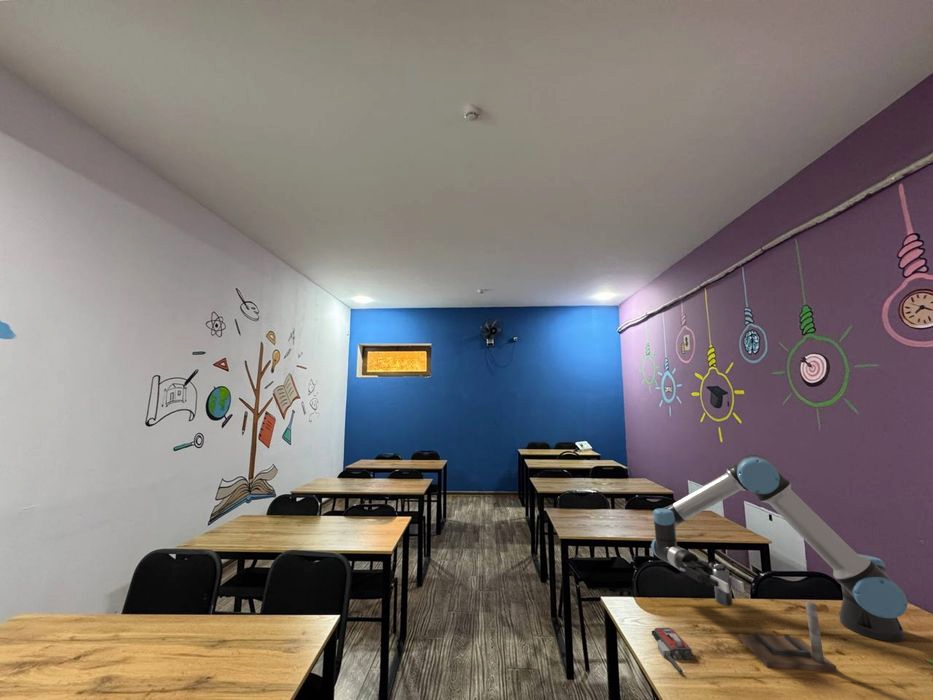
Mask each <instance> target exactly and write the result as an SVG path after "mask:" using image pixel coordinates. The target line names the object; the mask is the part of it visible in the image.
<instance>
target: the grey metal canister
mask: <svg viewBox="0 0 933 700" xmlns="http://www.w3.org/2000/svg"><path fill="white" fill-rule="evenodd" d="M714 564H715V565H714V566H713V567H712V571H713V576H715V577H717V578H719V579H720V580H722V581H724V582H726V583H728V586H729V593H726V592H724V591H722V590H721V589H719V588H717V587H715V586H713V587H714V596H715V597H714V598H715V602H716V603H717V604H719V605H721V606H726V607H730V606H733V597H732V589H731V588H732V586H730V577H729V572H730V571H729V569H728V568H727V566H726V565H725V563H719V564H718V563H714Z"/></svg>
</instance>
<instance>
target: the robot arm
mask: <svg viewBox="0 0 933 700" xmlns="http://www.w3.org/2000/svg"><path fill="white" fill-rule="evenodd" d="M740 491H745V492H746V491H750V492H751V493H752V494H753V495H754V496H755V497H756V499H758V500H759V501H760V502H761V503H764V504H769V505H770V507H772V508H773V510H775V511H776V512H777V513H778V515H780V516H781V517H782V518H783V519H784V520H785V522H786V523H787V524H788V525H789V526H791V527H792V529H793V530H794V531H795V532H796V533H797V534H798V535H799V536H800V537H801V538H802V539H803V540H804V541H805V542H806V543H807V544H808V545H809V546H810V547H811V548H812V549H813V551H815V552H816V554H818V555H819V556H820V557H821V558H822V559H823V561H825V562H826V563H827V564H828V565H829V567H831V568H832V570H833V571H832V572H833V573H832V575H833V577H834V578H835V580H837V581H838V582H839V584H840V585H841V590H842V591H841V592H842V601H841V606H840V611H839V615H838V616H839V621H840V623H841V624H842V626H844V627H845V628H847V629H849V630H851V631H853V632H855V633H857V634H860V635H863V636H866V637H868V638H872V639H876V640H879V641H886V642H902V641H904V640H906V637H905V631H904V628H903V627H902V624H901V622H900V621H899V618H898V617H901V616H902V615H904V614H905V613H906V611H907V609H908V600H907V597H906V594H905V593H904V591H903V589H902V588H901V587H900V586H899V585H898V584H896V582H894V581H893V579H891V578H890V577H889V576H888V575H887V566H886V563H885V562H884V561H883V560H882V559H881V558H878V557H875V556H870V555H867V554H866V555H865V554H861V553H857V552H856V551H855V550H854V549H853V548H852V547H850V545H849V544H848V543H846V541H844V540H843V539H842V537H841V536H840V535H839V534H837V533H836V532H835V531H834V529H832V528H831V527H830V526H829V525H828V524H827V523H826V522H825V521H824V520H823V519H822V518H821V517H820V516H819V515H817V514H816V513H815V511H813V510H812V509H811V507H810V506H808V505H807V503H805V502H804V501H803V500H802V498H800V497H799V496H798V495H797V494H796V493H795V492H794V491H793V490H792V483H791V482H790V481H789V480H788V479H787V478H786V477H785V476H784V475H783V474H782V473H781V472H780V471H779V470H777V468H776V467H775V466H774V465H773V464H772V463H771V462H770V461H769V460H768V459H767V458H765V457H763V456H760V455H757V454H756V455H755V454H751V455H750V454H749V455H746V456H743V457H742V458H740V460H738V461H737V462H736V463H734V464H732V465H731V466H729V467H728V468H727V469H726V471H725V473H724V474H722V475H720V476H718V477H716V478H715V479H713V480H711V481H709V482H708V483H706V484H704V485H703V486H701V487H699V488H697V489H696V490H694V491H692V492H691V493H689V494H687V495H685V496H684V497H682V498H680V499H679V500H676V501H675V502H673V503H671V504H670V505H668V506H665V507H663V508H655V509H654V510H653V517H652V518H653V523H654V535H655V537H654V539H653V540H651V544H650V549H651V551H652V554H654V555H655V556H656V557H657V558H658V559H660V560H661V561H664V562H666V563H667V564H669V565H671V566H673V567H674V568H676V569H677V570H679V572H680V573H681V574H683V575H686V576H688V577H690V578H692V579H693V580H695V581H697V582H698V583H699V584H700V583H701V584H704V583H705V584H706V586H707V587H711V586H713V587H714V586H715V587H717V588H719V589H721V590H722V591H724V592H726V593H729V586H728V583H726V582H724V581H722V580H720V579H719V578H717V577H715V576H713V571H712V567H713V566H714V565H715V564H716V563H715V562H713V561H710V562H709V564H708V563H706V562H704V561H703V560H700V559H699V557H698V556H697V555H696V554H694V553H693V552H691V551H689V550H687V549H685V548H682V547H680V546H678V544H677V531H676V529H677V526H679V525H680V524H682V523H683V522H685V521H687V520H688V519H690V518H692V517H694V516H696V515H698V514H700V513H702V512H703V511H705V510H707V509H709V508H711V507H713V506H715V505H717V504H718V503H720V502H722V501H724V500H726V499H727V498H730V497H731V496H733V495H735V494H736V493H738V492H740ZM729 577H730V586H731V588H733V589H736V590H738V591H740V592H741V593H745V588H744V582H743V581H741V580H739V579H737V578H735V577H734V576H733V572H731V571H729Z"/></svg>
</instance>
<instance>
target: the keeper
mask: <svg viewBox="0 0 933 700" xmlns="http://www.w3.org/2000/svg"><path fill="white" fill-rule="evenodd" d="M804 603H805V611H806V618H807V623H808V624H807V625H808V631H809V632H808V633H809V641H810V644H809V643H808V642H806V641H805V639H803V638H802V637H798V636H790V635H789V634H788V633H787V634H786V633H784V634H783V635H784V636H780V635H779V636H777V635H763V634H762V635H761V634H759V633H758V632H755V631H754V632H753V634H744V633H743V634H742V633H741V634H740V633H738V640H739V639H740V640H741V641H742V642H743V643H744V644H745V645H746V646H747V647H748V648H749V649H750V650H751V651H752V652H753V653H754V654H755V655H756V656H757V657H758V658H759V659H760V660H761V661H762V662H763V663H764V664H763V663H762V662H761V661H760V660H759V659H758V658H757V657H756V656H755V655H754V654H753V653H752V654H753V655H754V656H755V657H756V658H757V659H758V660H759V661H760V662H761V663H762V664H763V665H764V666H765V667H766V668H771V669H773V668H774V669H786V670H787V669H788V670H803V671H805V670H806V671H819V672H832V673H837V671H838V670H837V665H836V664H834V663H833V662H832V661H830V660H829V659H828V658H826V657H825V656H824V651H823V645H822V636H821V631H820V623H819V617H818V612H823V613H824V612H825V613H829V611H830V610H829V607H828V605H827V604H824V603H823V604H822V603H814V602H811V601H805V602H804ZM740 640H739V641H740ZM741 641H740V642H741ZM742 642H741V643H742ZM743 643H742V644H743ZM744 644H743V645H744ZM745 645H744V646H745ZM746 646H745V647H746ZM747 647H746V648H747ZM749 649H748V650H749ZM750 650H749V651H750ZM751 651H750V652H751Z"/></svg>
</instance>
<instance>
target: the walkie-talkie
mask: <svg viewBox="0 0 933 700" xmlns="http://www.w3.org/2000/svg"><path fill="white" fill-rule="evenodd" d="M651 635H652V636H653V637H654V639H655V640H656V642H657V650H658V651H659V653H660V655H661V657H663V658H664V659H667V660H669V662H670V663H671V664H672V665H673V666H674V668H676V670H677V671H678V672H680V673H681V674H682V673H683V669H682V668H681V667H680V665H679V664H678V663H677V662H676V661H675V660H677V659H682V660H684V659H686V660H690V659H693V649H692V648H691V647H690V646H689V645H688V643H686V641H684V640H683V638H682V637H681V636H680V635H679V634H678V633H677V632H676V631H675V630H674V629H672V628H671V627H656V628H654V629H653V630H652V631H651Z"/></svg>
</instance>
